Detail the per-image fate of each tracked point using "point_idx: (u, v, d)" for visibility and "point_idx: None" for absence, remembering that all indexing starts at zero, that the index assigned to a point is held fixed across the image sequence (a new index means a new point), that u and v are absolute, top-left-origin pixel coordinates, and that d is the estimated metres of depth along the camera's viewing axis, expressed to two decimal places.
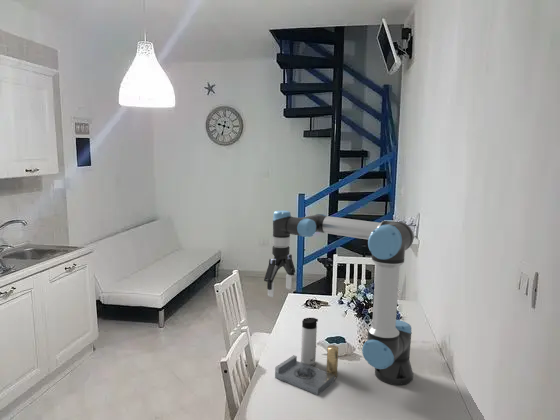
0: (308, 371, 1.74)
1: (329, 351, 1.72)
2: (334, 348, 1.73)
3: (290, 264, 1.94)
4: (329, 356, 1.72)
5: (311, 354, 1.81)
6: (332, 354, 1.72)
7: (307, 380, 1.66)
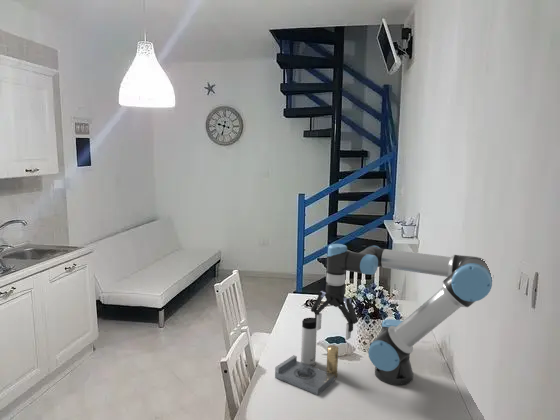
0: (308, 371, 1.74)
1: (329, 351, 1.72)
2: (334, 348, 1.73)
3: None
4: (329, 356, 1.72)
5: (311, 354, 1.81)
6: (332, 354, 1.72)
7: (307, 380, 1.66)
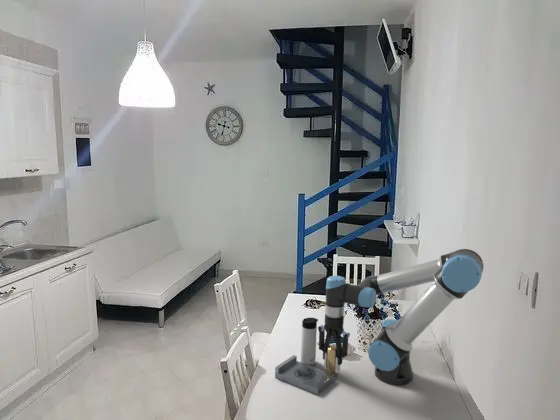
0: (308, 371, 1.74)
1: (329, 351, 1.72)
2: (334, 348, 1.73)
3: None
4: (329, 356, 1.72)
5: (311, 354, 1.81)
6: (332, 354, 1.72)
7: (307, 380, 1.66)
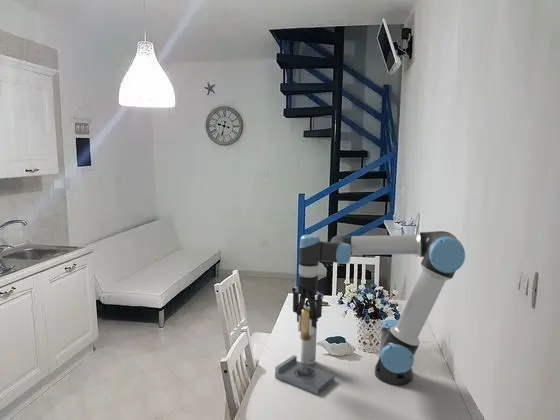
0: (308, 371, 1.74)
1: (303, 312, 1.66)
2: (308, 309, 1.67)
3: None
4: (303, 318, 1.67)
5: (311, 354, 1.81)
6: (306, 316, 1.66)
7: (307, 380, 1.66)
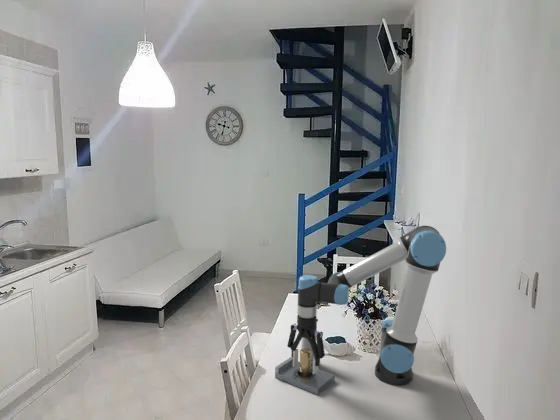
0: None
1: (302, 354, 1.69)
2: (307, 351, 1.69)
3: None
4: (302, 360, 1.69)
5: (311, 354, 1.81)
6: (304, 358, 1.68)
7: (307, 380, 1.66)
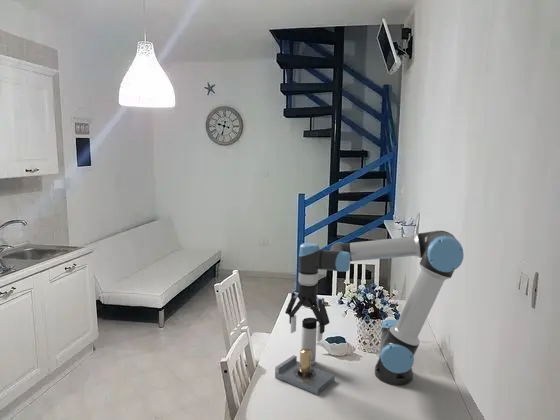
0: None
1: (302, 354, 1.69)
2: (307, 351, 1.69)
3: None
4: (302, 360, 1.69)
5: (311, 355, 1.81)
6: (304, 358, 1.68)
7: (307, 380, 1.66)
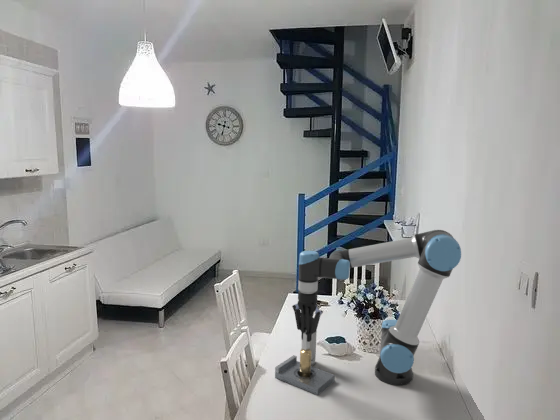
0: None
1: (302, 354, 1.69)
2: (307, 351, 1.69)
3: None
4: (302, 360, 1.69)
5: (311, 354, 1.81)
6: (304, 358, 1.68)
7: (307, 380, 1.66)
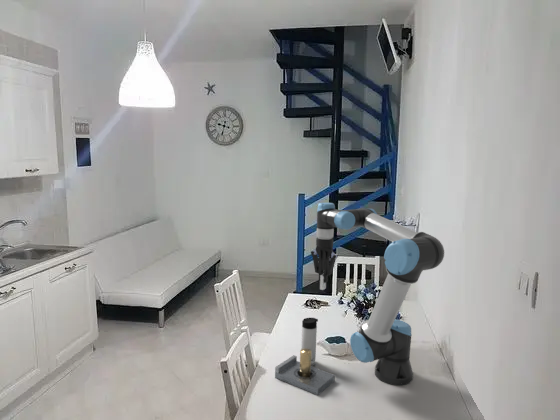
0: None
1: (302, 354, 1.69)
2: (307, 351, 1.69)
3: None
4: (302, 360, 1.69)
5: (311, 354, 1.81)
6: (304, 358, 1.68)
7: (307, 380, 1.66)
